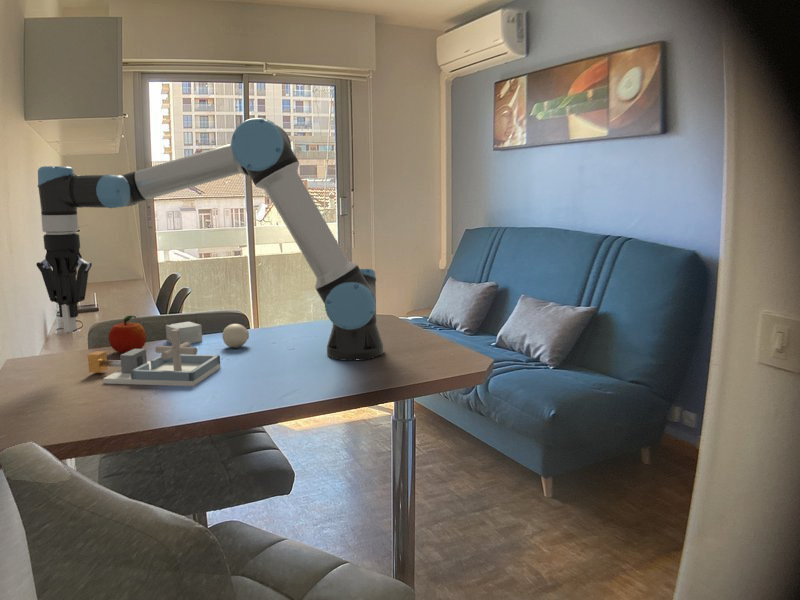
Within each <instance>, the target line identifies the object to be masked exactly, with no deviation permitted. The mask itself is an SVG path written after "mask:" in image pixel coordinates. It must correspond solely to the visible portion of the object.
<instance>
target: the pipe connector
mask: <svg viewBox="0 0 800 600" xmlns="http://www.w3.org/2000/svg"><path fill="white" fill-rule="evenodd" d="M171 339H172V343H171V345H156V346H155V348H154V352H155V353H156V354H160V355H161V357H162V359H164V360H167V359H169V358H171V357H173V367H174V371H182V365H181V354H186V355H198V348H197V347H195V346H194V347H192V344H191V343H189V342H185V343H183V344H181V345H180V337H179V330H178V329H174V330H171Z"/></svg>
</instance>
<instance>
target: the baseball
mask: <svg viewBox="0 0 800 600" xmlns="http://www.w3.org/2000/svg"><path fill="white" fill-rule="evenodd" d="M249 339H250V333H249V330H248V329H247V328H246V327H245V326H244V325H242V324H240V323H230V324H229V325H227V326H226V327H224V329H223V332H222V340H223V343H224V344H225V345H226V346H228V347H229V348H235V349H237V348H240V347H243V346H244V345H245V344H246V343H247V341H248V340H249Z"/></svg>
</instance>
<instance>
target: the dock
mask: <svg viewBox="0 0 800 600" xmlns="http://www.w3.org/2000/svg"><path fill="white" fill-rule="evenodd" d="M119 356H120V359H119V360H121V367H120V369H119V370H117V371H115V372H113V373H111V374H109V375H107V376H106V377H103V378H102V381H103V384H108V385H109V384H111V385H138V386H139V385H143V386H147V385H149V386H170V387H171V386H172V387H174V386H176V387H178V386H179V387H194V386H196V385H198V384H199V383H200V382H203V380H206V378H208V377H209V376H211V375H212V374H213V373H215V372H217V371H218V370H219V369H221V367H222V366H221V355H219V354H214V355H213V354H196V355H187V354H181V365H182V371H174V367H173V357H171V358H169V359H167V360H164V359H162V357H161V354H160V355H158V356H156V357H154V358H153V359H151V360H147V349H146V348H142V349H133V350H130V351H128V352H126V353H124V354H122V353H121V354H120V355H119Z"/></svg>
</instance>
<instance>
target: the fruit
mask: <svg viewBox="0 0 800 600" xmlns="http://www.w3.org/2000/svg"><path fill="white" fill-rule="evenodd" d="M133 318H134V319H136V318H137V316H135V315H127V316H125V317H124V318H123V322H120V323H117V324H114V325H113V326H112V327H111V329H110V330H109V333H108V343H109V345H110V346H111V348H112V349H113V350H114V351H115V352H116V353H120V354H121V355H122V354H124V353H126V352H128V351H130V350H133V349H143V347H144V346H145V345H146V341H147V334H146V330H145V328H144V326H143V325H141V323H137V322H129V321H130V320H131V319H133Z"/></svg>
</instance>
